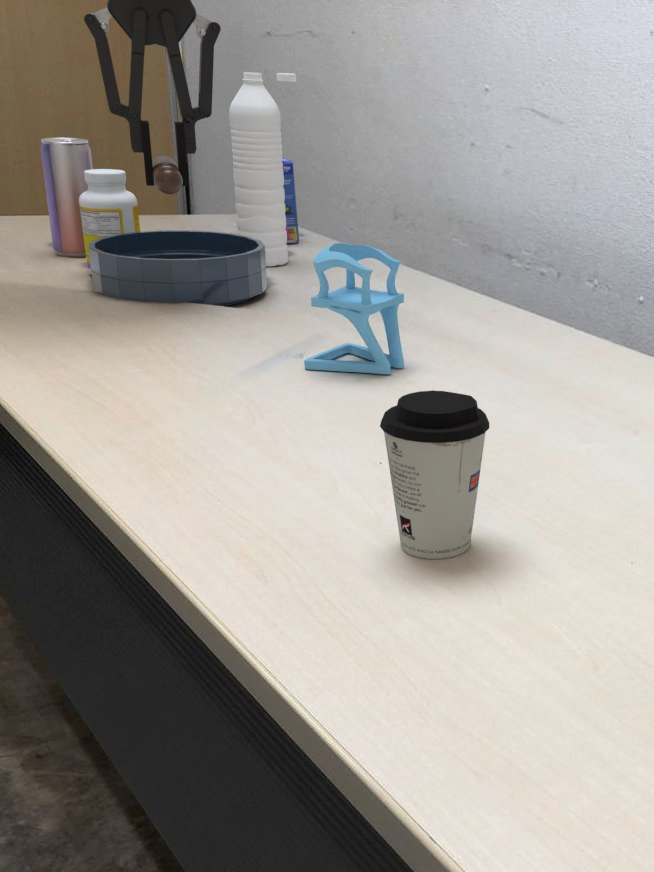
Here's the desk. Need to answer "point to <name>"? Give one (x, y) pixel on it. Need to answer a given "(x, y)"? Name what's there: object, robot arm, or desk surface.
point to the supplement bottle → (107, 206)
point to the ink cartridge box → (290, 202)
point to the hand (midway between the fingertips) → (167, 183)
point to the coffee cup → (435, 469)
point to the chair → (359, 310)
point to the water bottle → (259, 166)
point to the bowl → (179, 266)
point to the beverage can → (66, 191)
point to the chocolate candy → (166, 175)
